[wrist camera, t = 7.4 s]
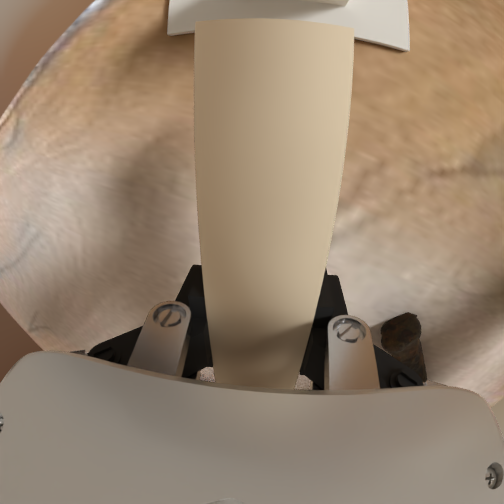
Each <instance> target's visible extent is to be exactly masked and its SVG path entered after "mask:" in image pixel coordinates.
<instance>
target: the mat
mask: <svg viewBox="0 0 504 504" xmlns="http://www.w3.org/2000/svg"><path fill="white" fill-rule="evenodd" d="M241 18H266V19H288V20H300V21H310V22H318V23H326V24H332V25H339V26H344V27H350V28H354V39H357V40H362V41H366V42H371V43H375V44H379V45H383V46H387V47H391V48H394V49H398V50H401V51H404V52H408V51H410V43H409V16H408V3H407V0H349V1H348V3H347V4H346V6H340V5H333V4H327V3H319V2H311V1H301V0H170V3H169V14H168V28H167V34H168V35H170V36H173V35H180V34H188V33H195V22H197V21H206V20H219V19H241Z"/></svg>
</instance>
